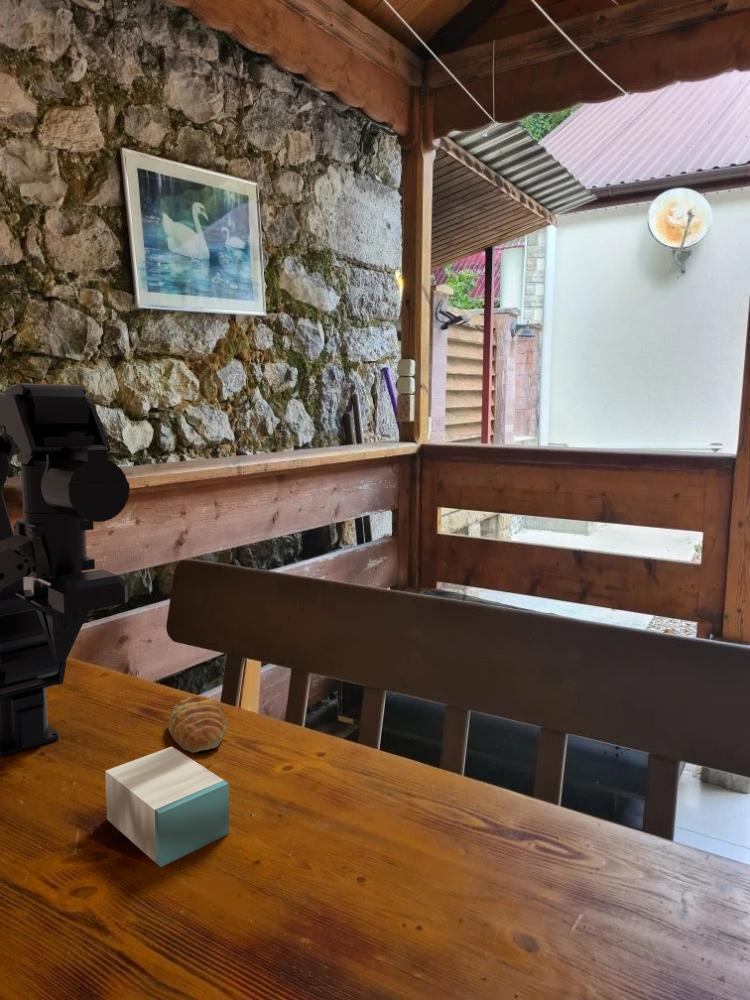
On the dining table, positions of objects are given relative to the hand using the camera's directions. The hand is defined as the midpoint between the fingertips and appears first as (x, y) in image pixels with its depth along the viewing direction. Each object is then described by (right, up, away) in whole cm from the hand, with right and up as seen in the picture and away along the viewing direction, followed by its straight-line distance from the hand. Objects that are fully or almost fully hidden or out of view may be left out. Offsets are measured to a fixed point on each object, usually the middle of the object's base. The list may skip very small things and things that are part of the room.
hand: (60, 658), depth 74 cm
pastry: (+11, -12, +12) cm, 21 cm away
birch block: (+9, -11, -4) cm, 15 cm away
